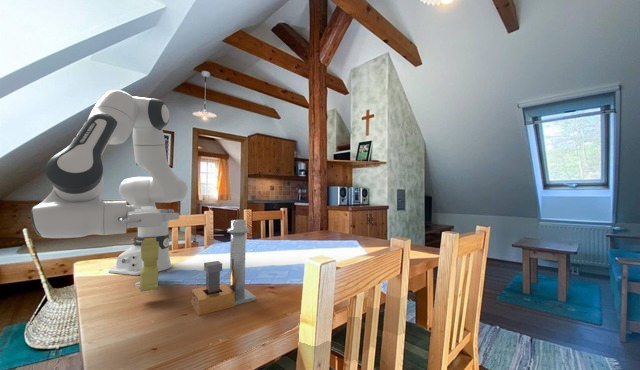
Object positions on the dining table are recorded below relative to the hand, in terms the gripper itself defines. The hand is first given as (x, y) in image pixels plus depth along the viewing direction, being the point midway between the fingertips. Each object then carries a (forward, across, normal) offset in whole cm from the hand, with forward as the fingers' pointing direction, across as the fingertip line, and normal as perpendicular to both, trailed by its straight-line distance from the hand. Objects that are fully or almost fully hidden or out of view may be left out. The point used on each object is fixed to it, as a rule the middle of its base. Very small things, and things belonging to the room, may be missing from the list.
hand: (176, 214), depth 79 cm
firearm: (-6, +11, +25) cm, 28 cm away
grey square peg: (+8, -10, +26) cm, 29 cm away
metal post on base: (+11, -10, +26) cm, 30 cm away
